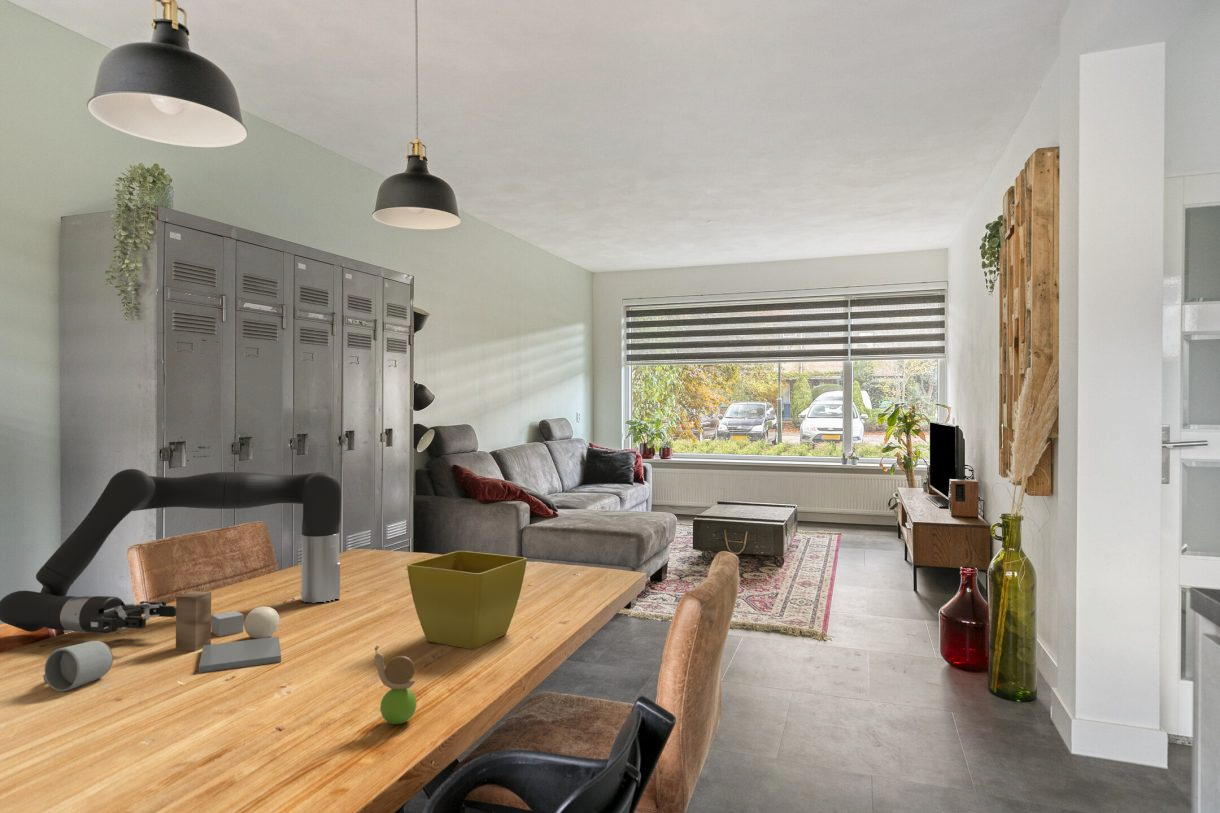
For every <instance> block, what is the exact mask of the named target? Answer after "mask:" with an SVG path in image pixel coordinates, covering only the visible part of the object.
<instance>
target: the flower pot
mask: <svg viewBox="0 0 1220 813" xmlns="http://www.w3.org/2000/svg"><path fill="white" fill-rule="evenodd" d="M406 567H407V574H408V576H407V577H408V581H409V582H408V583H409V586H410V591H411V596H412V601H413V604H414V608H415V610H416V611H415V612H416V614H417V618H418V620H419V623H420V626H421V628H422V631H423V632H422V633H423V634H424V636H425V639H426V641H427V642H431V643H437V644H440V645H448V646H453V647H456V648H457V647H459V648H462V649H463V648H464V649H469V650H476V649H479V648H481V647H482V646H485V645H486V644H489V643H491V642H493V641H494V640H497V639H499V638H501V637H502V636H505V635H506V634H507V633H508V630H509V628H510V627H511V626H510V625H511V622H512V619H513V618H514V614H515V611H516V609H517V605H518V602H519V599H520V595H521V590H522V587H523V584H524V583H523V582H524V578H525V574H526V568H527V557H523V556H515V555H514V556H513V555H507V554H505V555H504V554H495V553H487V552H477V551H468V550H456V551H453V552H448V553H446V554H445V553H444V554H441V555H438V556H434V557H430V558H426V559H422V560H418V561H415V562H411V563H408V564H407V565H406Z"/></svg>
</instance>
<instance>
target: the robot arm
mask: <svg viewBox="0 0 1220 813" xmlns="http://www.w3.org/2000/svg"><path fill="white" fill-rule="evenodd" d="M341 487H342V486H341V484H340V482H339V480H338V479H337V478H336V477H335V476H333V475H331V474H330V473H327V472H324V471H323V472H322V471H320V472H310V473H301V474H300V473H298V474H289V475H288V474H287V475H285V474H284V475H283V474H282V475H280V474H269V473H260V472H247V471H245V472H244V471H237V472H236V471H218V472H217V471H215V472H207V473H201V474H200V473H199V474H196V475H195V474H194V475H189V476H184V477H183V476H182V477H180V476H179V477H170V476H169V477H165V476H153V475H148V474H147V473H146V472H145V471H142V470H141V469H137V468H128V469H127V468H126V469H123V470H121V471H119V472H117V473H115V474H114V475H113V476H112V477H111V478H110V480H109V481H108V483H107V485H106V486H105V488H104V490H103V491H102V493H101V494H100V496H99V498H98V499H97V500H96V502H95V504H94V505H93V506H92V508H91V509H90V510H89V512H88V514H86V516H85V517H84V518H83V520H82V521H81V522H80V524H78V526H77V527H76V528H75V529H74V530H73V532H72V533H70V535H69V536H68V537H67V538H66V539H65V541H64V542H62V544H61V545H60V546H59V547H58V548H57V549H56V551H55V552H53V554H51V556H50V557H49V559H47V561H46V562H45V563H44V564H43V565H42V566H41V567H40V569H39V570H38V571H37V573H36V575H35V579H36V581H37V582H38V583H39V584H41V585H42V588H41V591H40V592H39V591H33V590H17V591H14V592H13V591H12V592H10V593H9V594H7V595H5V596H4V597H3V598H2V599H1V600H0V621H1V622H2V623H4V624H6V625H9V626H11V627H15V628H18V629H20V630H23V631H25V632H29V633H33V632H38V631H40V630H42V629H44V628H46V629H48V630H55V631H56V630H57V631H71V632H77V633H90V634H92V633H93V634H109V633H115V632H117V631H118V630H126V629H144V628H146V626H147V621H148V620H150V618H157V617H159V618H160V617H162V618H163V617H164V618H165V617H166V618H174V617H175V618H176V605H167V601H146V600H145V601H144V600H142V601H140V602H139V603H136V604H135V603H126V604H125V602H124V601H123V599H121V598H119V597H117V596H111V595H110V596H109V595H108V596H107V595H104V596H103V595H80V596H74V595H67V594H68V591H69V589H70V587H72V585H73V584H74V583H75V582H76V581H77V579H79V578H80V575H81V574H82V573H83V572H84V571H85V570H86V568H88V566H89V564H91V562H92V561H93V559H95V557H96V556H97V554H98V552H99V551H100V549H101V548H102V547H103V545H104V543H105V542H106V541H107V538H109V535H111V534H112V532H113V531H114V529H116V527H117V526H118V525H119V524H120V523H121V522H122V521H123V520H124V519H125V518H126V517H127V516H128V515H129V514H131V512H137V511H143V510H144V511H146V510H152V509H153V510H155V509H164V508H190V509H206V510H207V509H210V510H211V509H213V510H214V509H215V510H217V509H218V510H229V509H230V510H231V509H233V510H237V509H238V510H239V509H250V508H258V507H264V506H269V505H276V504H295V505H296V504H297V505H302V521H301V568H300V569H301V574H300V577H301V578H300V580H301V585H300V586H301V587H300V589H301V590H300V600H302V601H304V602H303V603H305V602H312V603H311V604H317V603H316V602H324V603H327V602H326V601H329V602H332V601H331V600H333V601H336V600H335V599H339V600H340V599H341V562H340V525H341V521H342V519H341V518H342V517H341V514H342V512H341V511H342V489H341ZM302 601H301V602H302ZM142 615H144V616H142Z"/></svg>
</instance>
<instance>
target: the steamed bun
mask: <svg viewBox="0 0 1220 813" xmlns="http://www.w3.org/2000/svg"><path fill="white" fill-rule="evenodd" d="M280 619H281V618H280V615H279V613H278V611H276V609H274V608H273V607H271V606H258V607H256V608H254V609H251V611H249V612H248V614H247V615H246V617H245V619H244V620H243V629H244V631H245V633H246V634H247V635H248V636H249V637H250V638H253V639H261V638H269V637H273V635H274V634H275V633H276V632H277V630H278V628H279V627H280Z"/></svg>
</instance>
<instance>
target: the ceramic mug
mask: <svg viewBox="0 0 1220 813" xmlns="http://www.w3.org/2000/svg"><path fill="white" fill-rule="evenodd" d="M113 657H114V655H113V651H112V650H111V647H110V646H109V645H108V644H107V643H106V642H104V641H101V640H90V641H85V642H81V643H78V644H74V645H68V646H66V647H60V648H57V649H56V650H54V651H52V652H51V653H50V654H49V655H48V657H47V658H46V661H45V663H44V668H43V669H44V670H43V671H44V674H43V675H42V677H43V680H44V681H43V682H44V683H45V684H48V686H50V687H51V689H53V690H54V691H57V692H62V691H63V692H68V691H70V690H73V689H75V688H78V687H81V686H83V685H86V684H88V683H91V682H94V681H96V680H99V679H100V678H102V677H104V676H105V675H106V674H108V673H109V671H110V670H111V669H112V665H113V662H114V658H113Z"/></svg>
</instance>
